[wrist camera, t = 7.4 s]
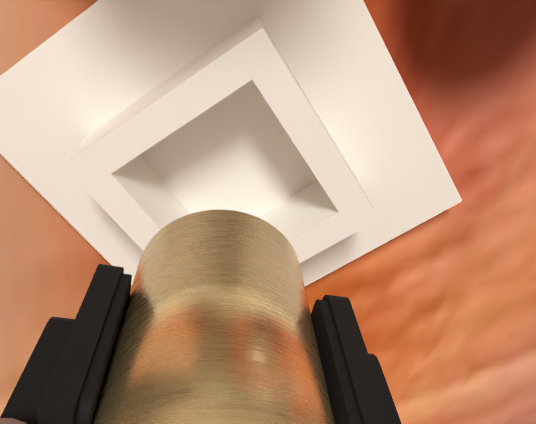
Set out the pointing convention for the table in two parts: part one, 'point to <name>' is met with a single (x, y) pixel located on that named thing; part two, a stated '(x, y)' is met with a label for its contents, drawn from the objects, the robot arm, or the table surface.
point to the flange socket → (224, 126)
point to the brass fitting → (216, 331)
